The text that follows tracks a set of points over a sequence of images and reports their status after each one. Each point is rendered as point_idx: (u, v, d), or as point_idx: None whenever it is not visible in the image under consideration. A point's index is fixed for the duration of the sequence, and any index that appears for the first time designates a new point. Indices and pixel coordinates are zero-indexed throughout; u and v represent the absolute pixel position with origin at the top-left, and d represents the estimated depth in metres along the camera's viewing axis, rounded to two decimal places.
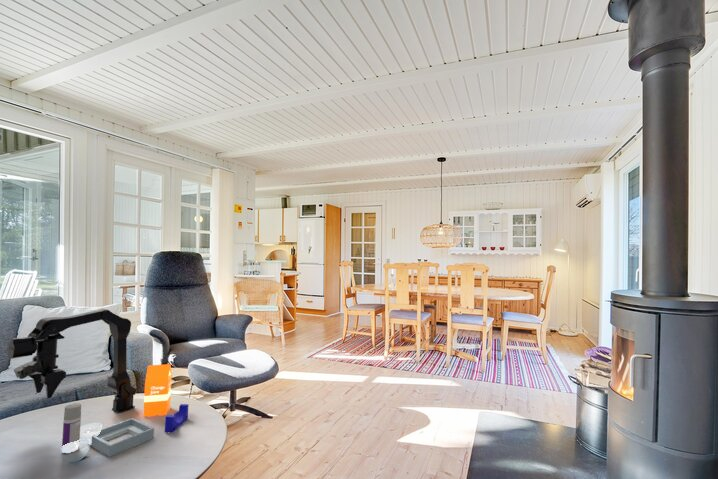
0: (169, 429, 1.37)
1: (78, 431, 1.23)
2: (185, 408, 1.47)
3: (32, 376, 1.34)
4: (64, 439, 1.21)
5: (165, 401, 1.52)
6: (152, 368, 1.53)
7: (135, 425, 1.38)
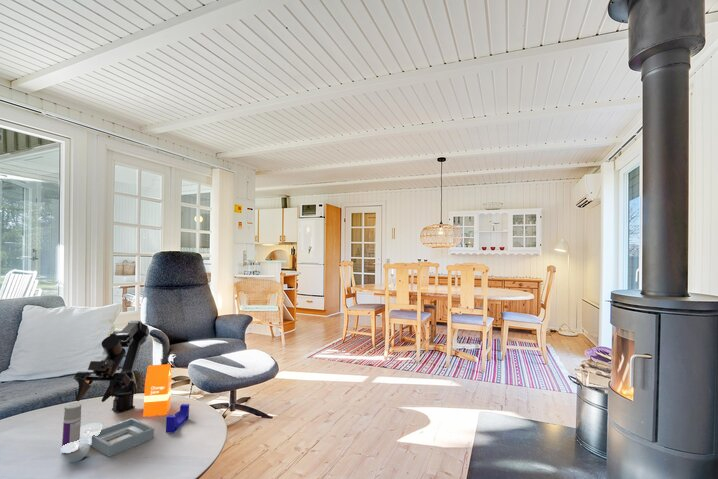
0: (170, 429, 1.37)
1: (78, 431, 1.23)
2: (186, 408, 1.47)
3: (83, 381, 1.35)
4: (64, 439, 1.21)
5: (165, 401, 1.52)
6: (152, 368, 1.53)
7: (135, 425, 1.38)
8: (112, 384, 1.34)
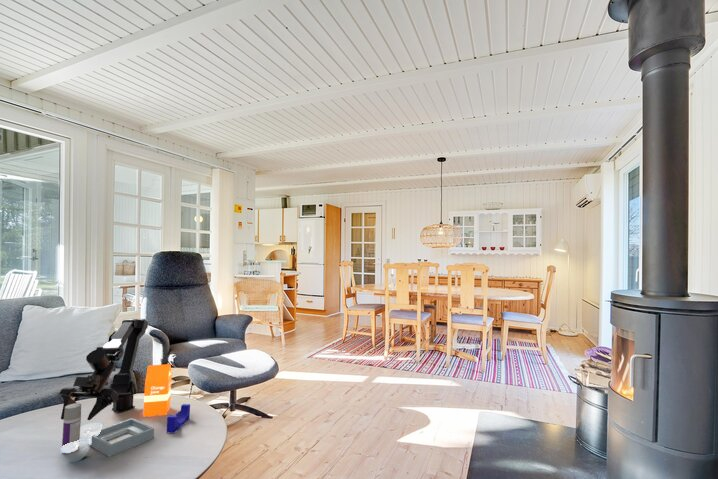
0: (171, 429, 1.37)
1: (78, 431, 1.23)
2: (187, 408, 1.47)
3: (69, 398, 1.28)
4: (64, 439, 1.21)
5: (165, 401, 1.52)
6: (152, 368, 1.53)
7: (135, 425, 1.38)
8: (99, 401, 1.28)
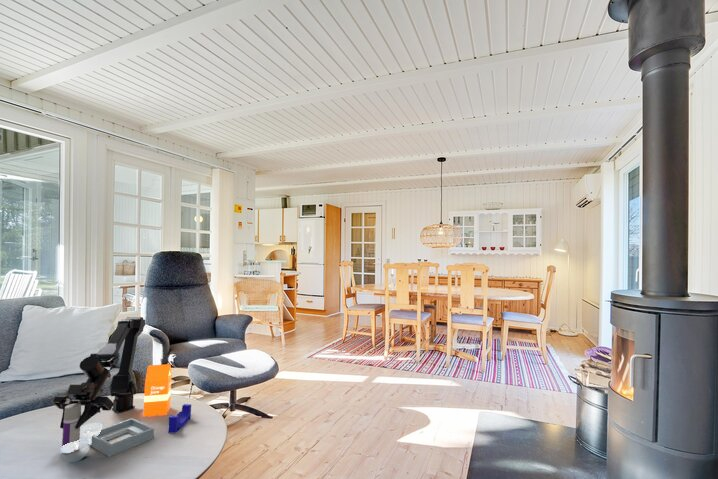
0: (172, 429, 1.37)
1: (78, 431, 1.23)
2: (188, 408, 1.47)
3: None
4: (64, 439, 1.21)
5: (165, 401, 1.52)
6: (152, 368, 1.53)
7: (135, 425, 1.38)
8: (87, 409, 1.25)
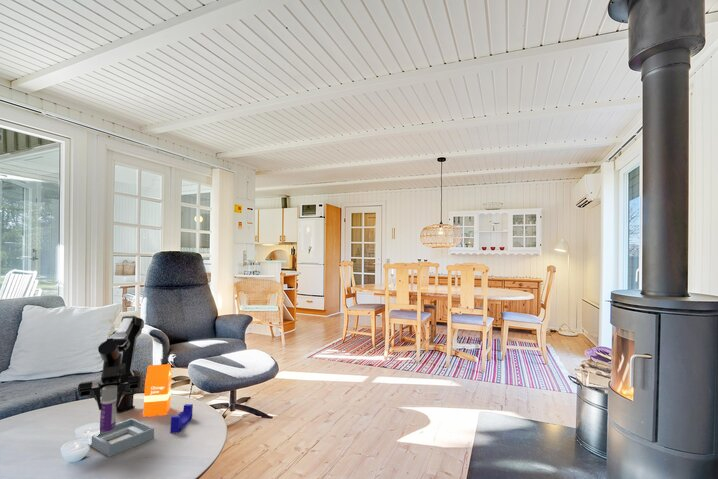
0: (175, 429, 1.37)
1: None
2: (189, 408, 1.47)
3: (99, 389, 1.28)
4: (106, 419, 1.26)
5: (165, 401, 1.52)
6: (152, 368, 1.53)
7: (135, 425, 1.38)
8: (123, 388, 1.31)
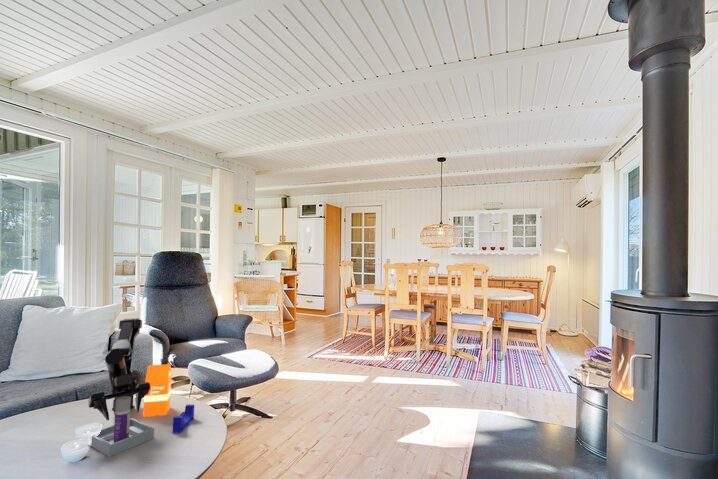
0: (177, 429, 1.37)
1: None
2: (191, 408, 1.47)
3: None
4: (121, 429, 1.28)
5: (165, 401, 1.52)
6: (152, 368, 1.53)
7: (135, 425, 1.38)
8: (141, 394, 1.36)
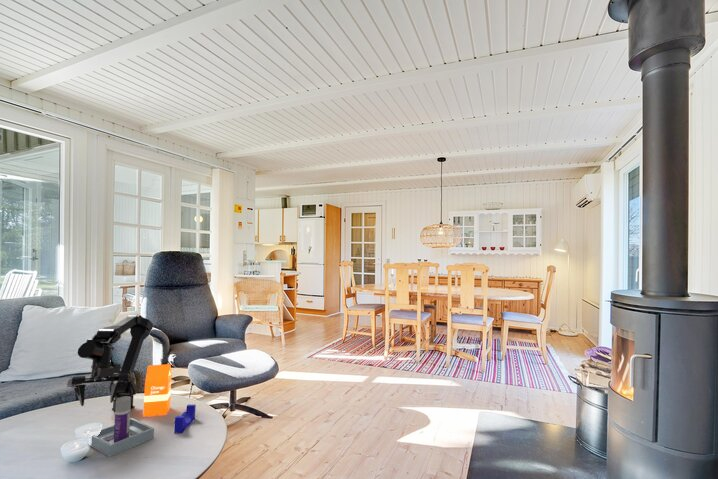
0: (178, 429, 1.37)
1: None
2: (193, 408, 1.47)
3: None
4: (121, 429, 1.28)
5: (165, 401, 1.52)
6: (152, 368, 1.53)
7: (135, 425, 1.38)
8: (119, 385, 1.40)
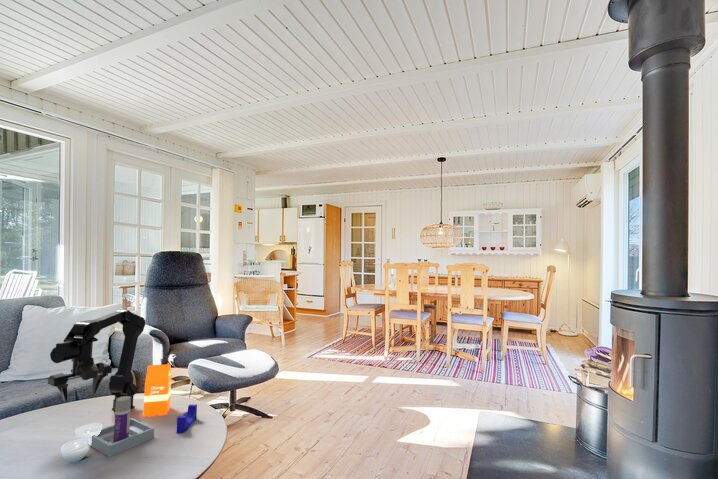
0: (181, 429, 1.37)
1: None
2: (194, 408, 1.47)
3: None
4: (121, 429, 1.28)
5: (165, 401, 1.52)
6: (152, 368, 1.53)
7: (135, 425, 1.38)
8: (101, 378, 1.40)
